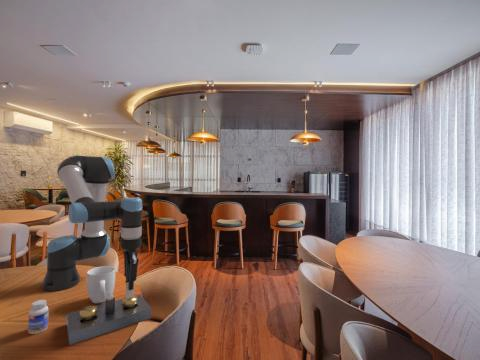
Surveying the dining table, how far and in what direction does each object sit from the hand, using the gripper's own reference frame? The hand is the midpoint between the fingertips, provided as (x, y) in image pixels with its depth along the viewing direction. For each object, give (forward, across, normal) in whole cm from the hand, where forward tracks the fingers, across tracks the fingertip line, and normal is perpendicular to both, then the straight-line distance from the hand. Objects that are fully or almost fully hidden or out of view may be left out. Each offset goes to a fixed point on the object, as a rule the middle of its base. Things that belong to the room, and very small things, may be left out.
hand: (129, 296), depth 97 cm
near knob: (+7, 0, -14) cm, 16 cm away
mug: (+8, -19, -7) cm, 21 cm away
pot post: (+3, 0, -7) cm, 8 cm away
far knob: (+7, 0, 0) cm, 7 cm away
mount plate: (+7, 0, -7) cm, 10 cm away
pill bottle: (+8, -9, -28) cm, 30 cm away
